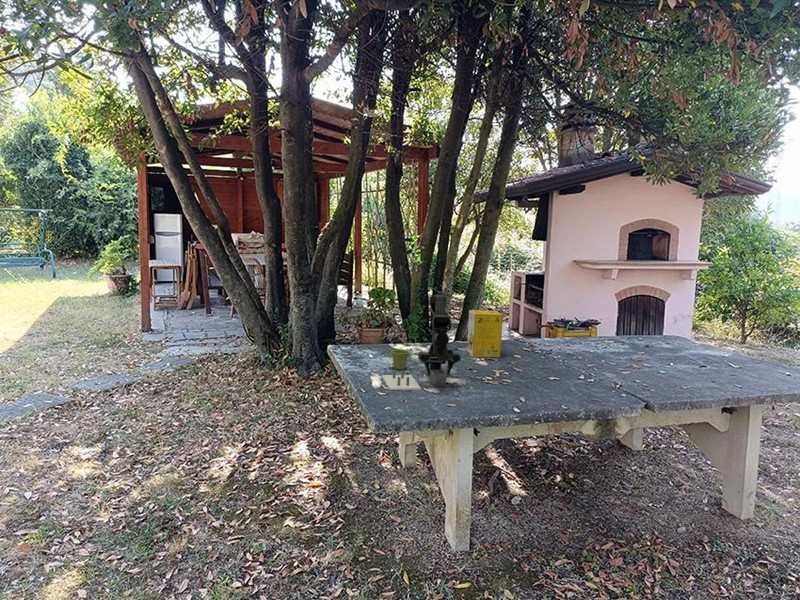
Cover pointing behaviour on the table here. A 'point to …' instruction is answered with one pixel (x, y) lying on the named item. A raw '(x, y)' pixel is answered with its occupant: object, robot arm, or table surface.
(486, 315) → the packaging box
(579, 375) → the table surface
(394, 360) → the plant pot
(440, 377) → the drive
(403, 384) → the peg board
